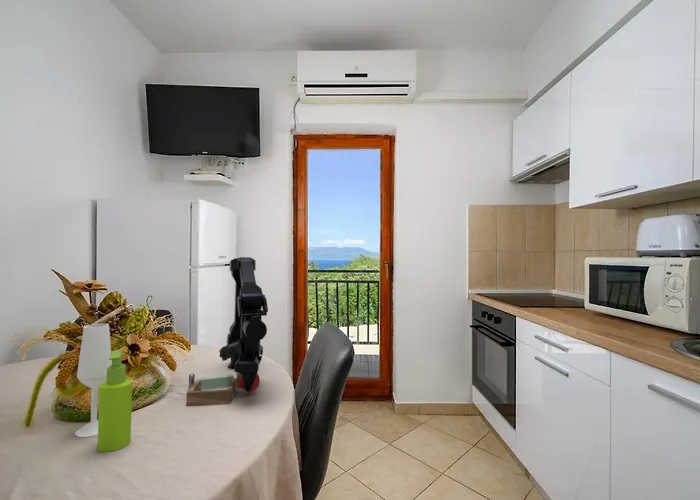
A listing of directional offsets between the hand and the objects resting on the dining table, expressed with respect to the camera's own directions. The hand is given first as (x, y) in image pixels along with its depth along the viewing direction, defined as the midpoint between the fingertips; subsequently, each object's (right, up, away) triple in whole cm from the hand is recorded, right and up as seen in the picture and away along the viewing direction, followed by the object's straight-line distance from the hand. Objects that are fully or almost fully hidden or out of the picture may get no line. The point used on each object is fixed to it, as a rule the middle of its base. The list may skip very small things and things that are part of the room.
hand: (249, 386), depth 103 cm
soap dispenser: (-20, -1, -29) cm, 35 cm away
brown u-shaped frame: (-10, -2, -3) cm, 10 cm away
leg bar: (-12, -2, +4) cm, 13 cm away
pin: (-18, -2, +2) cm, 18 cm away
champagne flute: (-30, -1, -22) cm, 37 cm away
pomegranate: (0, -2, 0) cm, 2 cm away
